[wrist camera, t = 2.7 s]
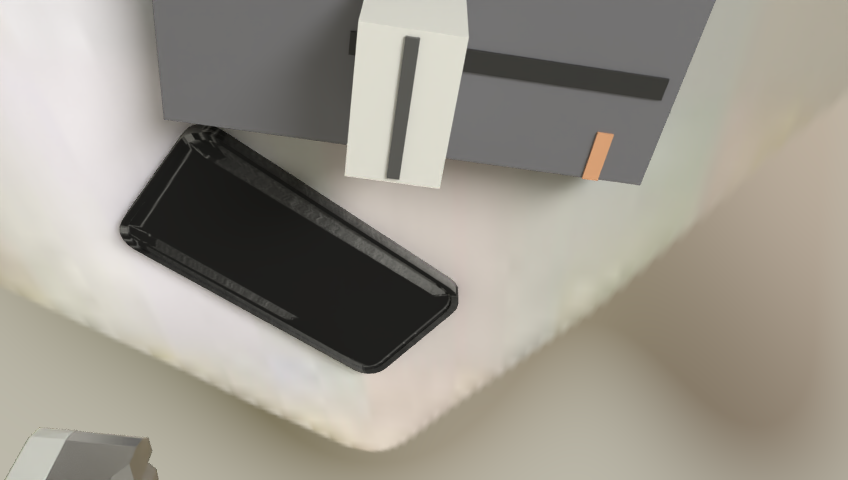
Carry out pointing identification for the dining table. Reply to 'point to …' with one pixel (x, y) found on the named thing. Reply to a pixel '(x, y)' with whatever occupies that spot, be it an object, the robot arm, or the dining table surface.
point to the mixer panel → (480, 82)
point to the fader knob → (405, 89)
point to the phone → (285, 252)
